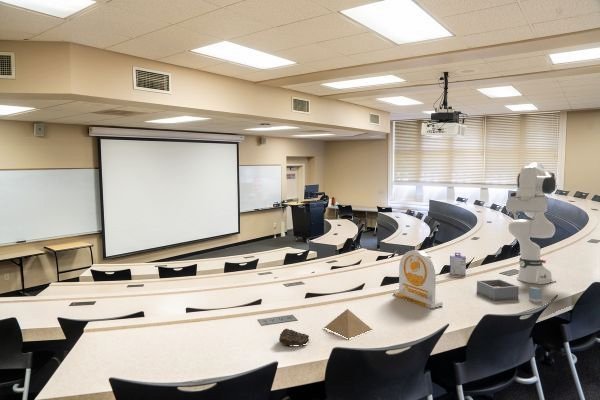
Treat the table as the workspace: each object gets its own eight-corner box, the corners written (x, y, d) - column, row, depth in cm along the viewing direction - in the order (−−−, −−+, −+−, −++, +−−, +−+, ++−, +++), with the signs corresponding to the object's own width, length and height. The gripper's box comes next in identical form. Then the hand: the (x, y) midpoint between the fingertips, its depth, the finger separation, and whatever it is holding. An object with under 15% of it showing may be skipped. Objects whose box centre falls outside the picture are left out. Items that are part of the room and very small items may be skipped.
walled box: (499, 291, 232) (499, 279, 232) (518, 298, 218) (518, 286, 217) (476, 292, 229) (477, 280, 229) (494, 300, 215) (494, 288, 214)
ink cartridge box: (464, 273, 273) (464, 252, 272) (466, 275, 268) (466, 254, 267) (449, 272, 275) (449, 252, 274) (450, 274, 270) (451, 253, 269)
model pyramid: (345, 320, 189) (345, 299, 188) (374, 331, 176) (374, 309, 175) (320, 329, 178) (320, 307, 178) (348, 341, 165) (348, 318, 164)
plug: (535, 299, 217) (535, 286, 216) (540, 301, 213) (541, 288, 213) (528, 299, 216) (529, 287, 216) (534, 302, 212) (535, 289, 212)
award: (392, 294, 227) (393, 247, 225) (404, 292, 231) (404, 245, 229) (430, 309, 202) (431, 256, 200) (442, 306, 207) (443, 254, 205)
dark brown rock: (276, 346, 161) (276, 334, 160) (286, 336, 170) (286, 325, 170) (302, 351, 156) (301, 338, 156) (311, 341, 165) (311, 329, 165)
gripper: (550, 195, 212) (548, 221, 210) (510, 196, 228) (508, 219, 226) (545, 193, 208) (543, 219, 207) (505, 194, 224) (503, 218, 223)
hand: (524, 219), depth 217 cm, fingers open, 8 cm apart
